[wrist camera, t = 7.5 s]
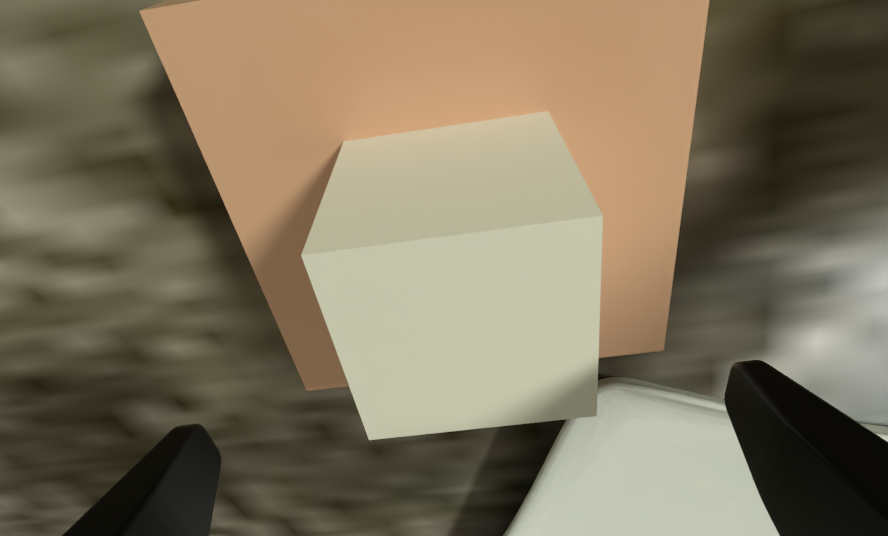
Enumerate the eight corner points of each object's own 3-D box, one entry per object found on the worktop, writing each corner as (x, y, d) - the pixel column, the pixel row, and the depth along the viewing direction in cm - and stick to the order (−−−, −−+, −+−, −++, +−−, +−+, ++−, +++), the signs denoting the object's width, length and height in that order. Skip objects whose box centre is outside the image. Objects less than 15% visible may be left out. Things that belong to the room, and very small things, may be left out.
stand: (652, -94, 14) (721, -90, 10) (627, 277, 20) (663, 350, 17) (205, -16, 14) (139, 11, 11) (326, 315, 21) (306, 391, 18)
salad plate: (574, 327, 22) (594, 388, 20) (980, 403, 26) (1047, 465, 23) (449, 565, 34) (451, 624, 31) (738, 597, 37) (763, 653, 35)
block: (548, 110, 13) (602, 215, 8) (553, 278, 15) (596, 416, 11) (343, 141, 13) (301, 255, 9) (386, 299, 16) (368, 440, 12)
